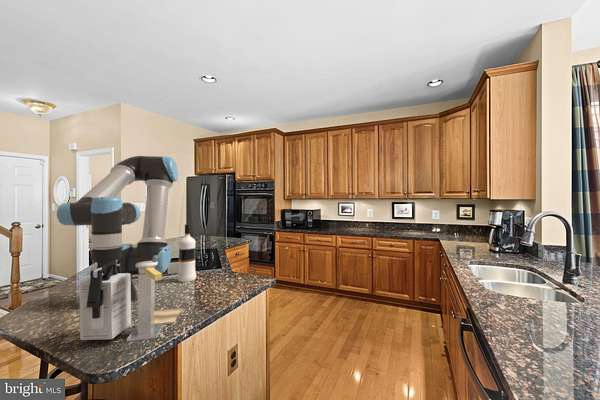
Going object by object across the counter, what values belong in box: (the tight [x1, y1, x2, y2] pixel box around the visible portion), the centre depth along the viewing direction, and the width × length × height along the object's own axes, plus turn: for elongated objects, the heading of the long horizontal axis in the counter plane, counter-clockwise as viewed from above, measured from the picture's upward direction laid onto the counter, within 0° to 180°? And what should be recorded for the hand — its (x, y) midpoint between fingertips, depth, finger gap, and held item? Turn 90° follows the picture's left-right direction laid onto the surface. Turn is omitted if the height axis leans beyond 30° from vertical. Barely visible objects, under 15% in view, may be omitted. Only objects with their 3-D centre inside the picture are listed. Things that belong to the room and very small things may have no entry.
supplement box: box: [79, 273, 132, 341], centre depth 78 cm, size 10×9×17 cm
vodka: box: [176, 223, 197, 283], centre depth 137 cm, size 9×9×30 cm
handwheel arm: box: [136, 255, 163, 282], centre depth 77 cm, size 6×16×5 cm, turn 43°
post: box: [126, 274, 165, 343], centre depth 81 cm, size 8×8×19 cm
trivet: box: [134, 307, 182, 329], centre depth 91 cm, size 12×12×1 cm
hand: (106, 319), depth 78 cm, fingers closed on supplement box, 10 cm apart
